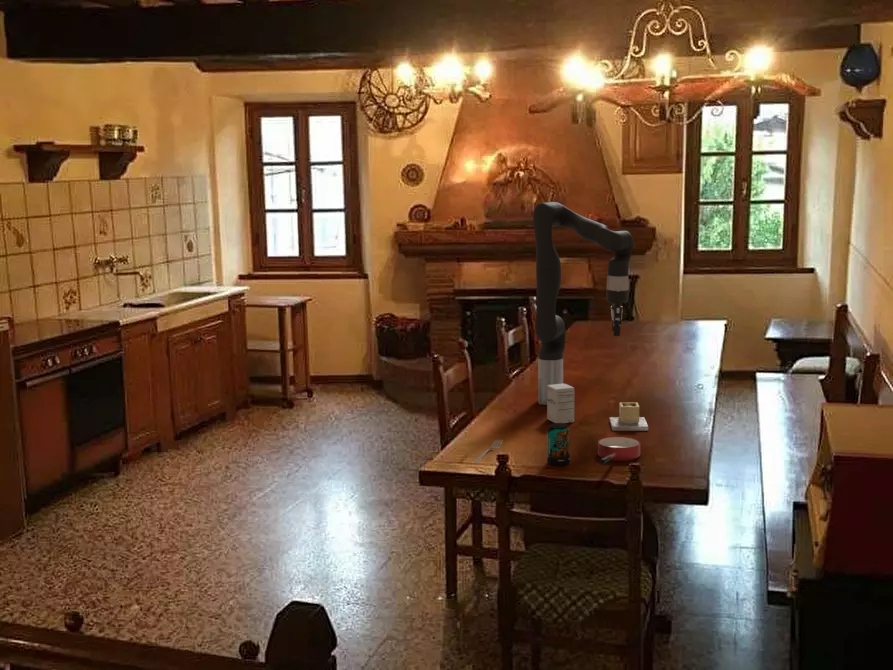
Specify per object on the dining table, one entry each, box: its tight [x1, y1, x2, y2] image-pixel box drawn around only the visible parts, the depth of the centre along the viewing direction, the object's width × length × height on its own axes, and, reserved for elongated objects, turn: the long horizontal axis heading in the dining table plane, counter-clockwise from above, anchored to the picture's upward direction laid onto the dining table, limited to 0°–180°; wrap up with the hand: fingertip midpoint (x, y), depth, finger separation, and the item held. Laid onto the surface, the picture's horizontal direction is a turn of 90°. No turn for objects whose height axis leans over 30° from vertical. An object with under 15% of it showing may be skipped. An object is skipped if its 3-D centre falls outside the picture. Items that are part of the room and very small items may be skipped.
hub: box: [618, 402, 640, 421], centre depth 352 cm, size 6×6×5 cm
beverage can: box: [546, 422, 571, 467], centre depth 311 cm, size 7×7×12 cm
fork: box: [472, 439, 504, 463], centre depth 324 cm, size 3×24×2 cm, turn 155°
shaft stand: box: [609, 405, 649, 432], centre depth 352 cm, size 12×12×7 cm
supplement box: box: [546, 382, 575, 424], centre depth 360 cm, size 7×7×13 cm
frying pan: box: [597, 435, 641, 465], centre depth 310 cm, size 32×13×6 cm, turn 165°
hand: (615, 333), depth 361 cm, fingers open, 8 cm apart
